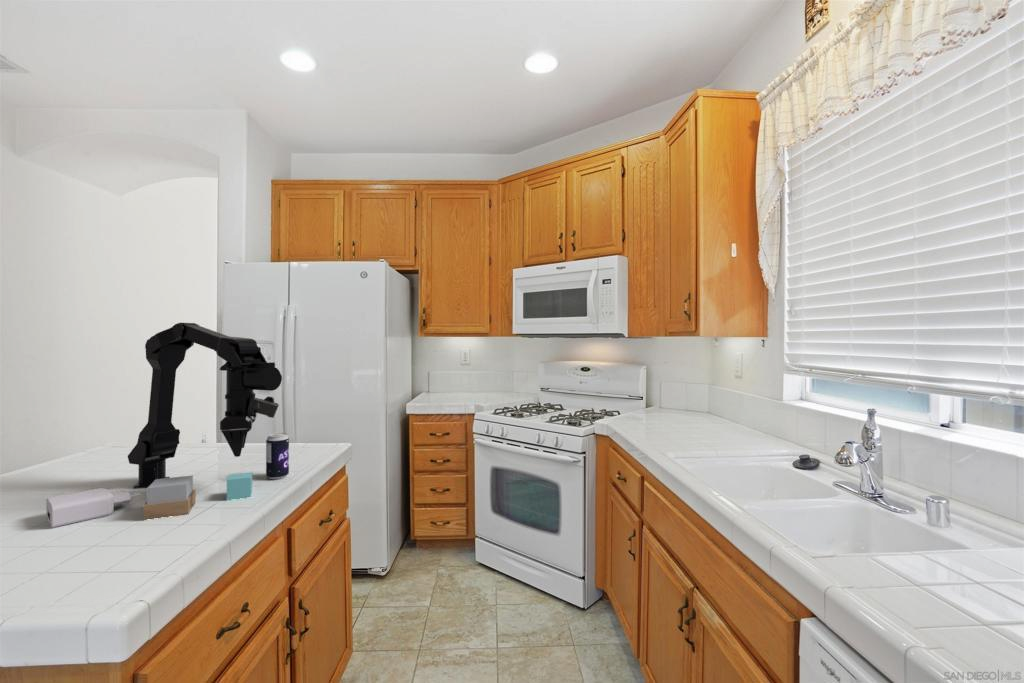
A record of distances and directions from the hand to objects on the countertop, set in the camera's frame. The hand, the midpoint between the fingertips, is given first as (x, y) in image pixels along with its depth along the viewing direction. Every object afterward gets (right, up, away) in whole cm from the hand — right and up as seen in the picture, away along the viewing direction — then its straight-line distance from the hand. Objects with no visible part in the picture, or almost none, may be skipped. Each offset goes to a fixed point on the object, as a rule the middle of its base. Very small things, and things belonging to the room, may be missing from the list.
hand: (239, 452), depth 112 cm
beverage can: (+2, -11, +15) cm, 19 cm away
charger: (-25, -11, -11) cm, 30 cm away
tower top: (-9, -8, -10) cm, 16 cm away
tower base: (-9, -11, -10) cm, 18 cm away
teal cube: (0, -11, 0) cm, 11 cm away
